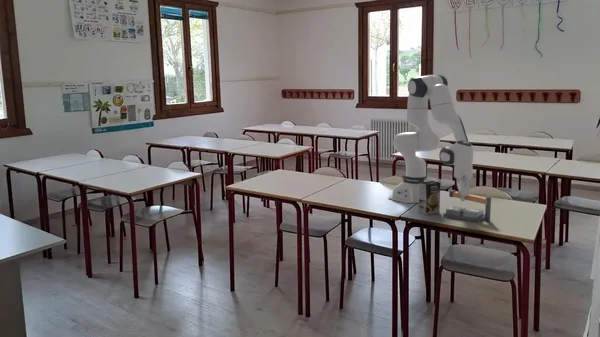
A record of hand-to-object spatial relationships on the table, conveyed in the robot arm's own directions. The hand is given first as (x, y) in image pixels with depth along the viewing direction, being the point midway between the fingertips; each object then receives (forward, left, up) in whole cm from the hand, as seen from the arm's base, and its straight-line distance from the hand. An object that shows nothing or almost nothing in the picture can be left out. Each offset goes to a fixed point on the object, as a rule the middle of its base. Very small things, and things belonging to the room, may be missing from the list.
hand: (462, 200), depth 255 cm
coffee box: (-17, -2, -9) cm, 19 cm away
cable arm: (+3, +2, -8) cm, 9 cm away
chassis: (+1, 0, -8) cm, 8 cm away
